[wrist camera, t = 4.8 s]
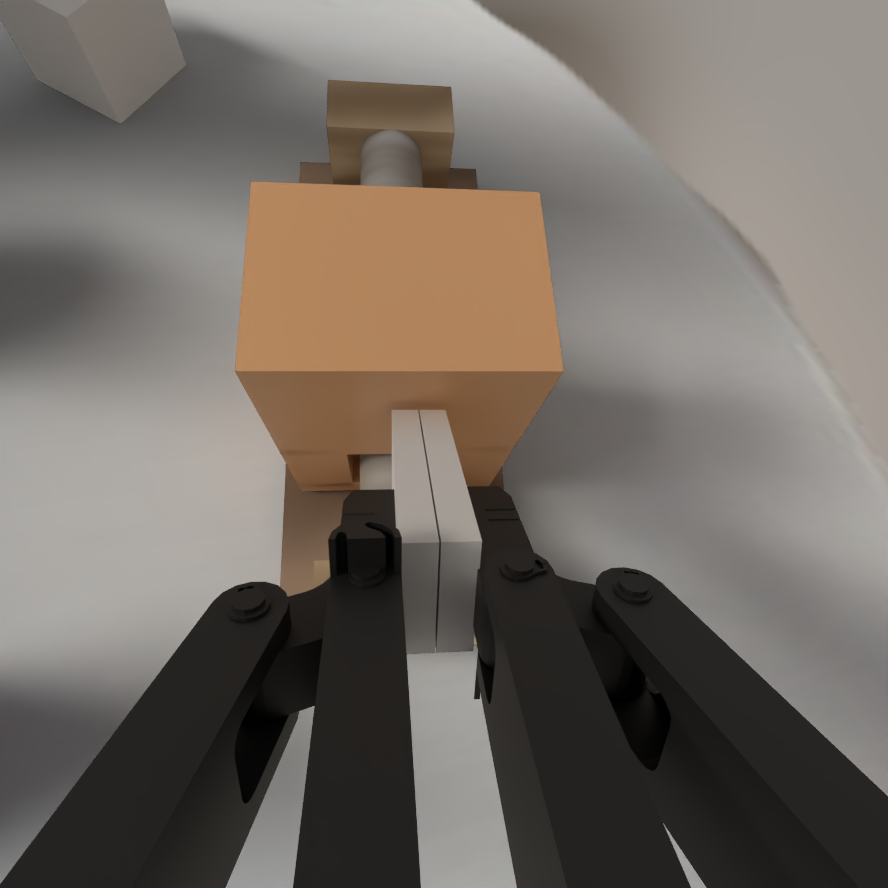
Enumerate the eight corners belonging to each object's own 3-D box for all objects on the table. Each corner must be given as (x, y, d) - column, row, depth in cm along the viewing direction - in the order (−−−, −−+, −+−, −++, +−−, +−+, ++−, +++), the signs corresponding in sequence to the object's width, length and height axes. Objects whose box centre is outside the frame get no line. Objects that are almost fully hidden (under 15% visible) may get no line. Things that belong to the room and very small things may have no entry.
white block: (121, 126, 32) (65, 17, 27) (38, 82, 33) (-34, -34, 27) (187, 66, 34) (148, -47, 29) (108, 25, 35) (54, -94, 29)
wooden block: (488, 487, 26) (563, 371, 15) (301, 491, 25) (235, 371, 14) (479, 370, 28) (539, 192, 17) (306, 369, 27) (251, 181, 16)
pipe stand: (512, 641, 25) (549, 640, 19) (281, 653, 24) (247, 656, 18) (473, 182, 33) (491, 87, 28) (303, 176, 32) (285, 75, 27)
